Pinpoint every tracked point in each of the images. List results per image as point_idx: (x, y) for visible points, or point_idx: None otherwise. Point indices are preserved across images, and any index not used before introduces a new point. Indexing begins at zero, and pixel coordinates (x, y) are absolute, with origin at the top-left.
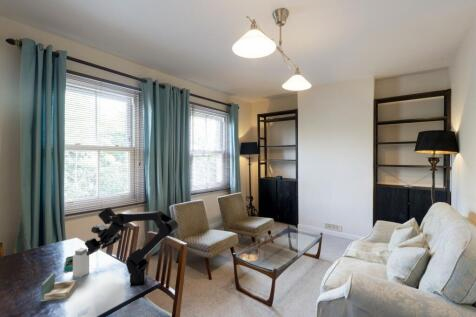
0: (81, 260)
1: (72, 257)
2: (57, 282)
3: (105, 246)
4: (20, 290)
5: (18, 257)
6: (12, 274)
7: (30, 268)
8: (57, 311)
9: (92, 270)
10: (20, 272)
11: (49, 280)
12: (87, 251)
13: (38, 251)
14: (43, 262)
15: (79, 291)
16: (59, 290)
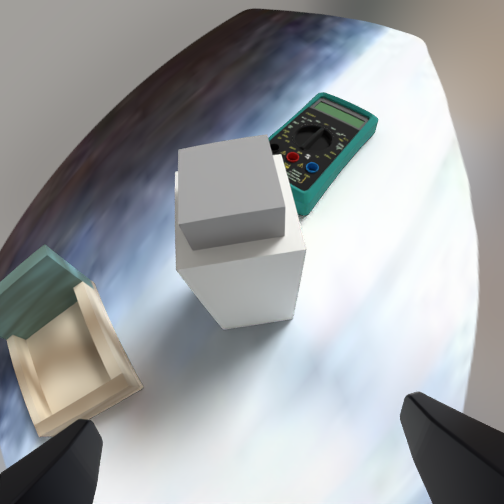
0: (194, 290)
1: (339, 107)
2: (84, 293)
3: (431, 482)
4: (74, 183)
5: (257, 19)
6: (167, 73)
7: (215, 71)
8: (5, 455)
9: (320, 317)
10: (183, 75)
11: (8, 298)
12: (31, 458)
13: (309, 22)
14: (266, 65)
15: (105, 453)
16: (71, 348)
